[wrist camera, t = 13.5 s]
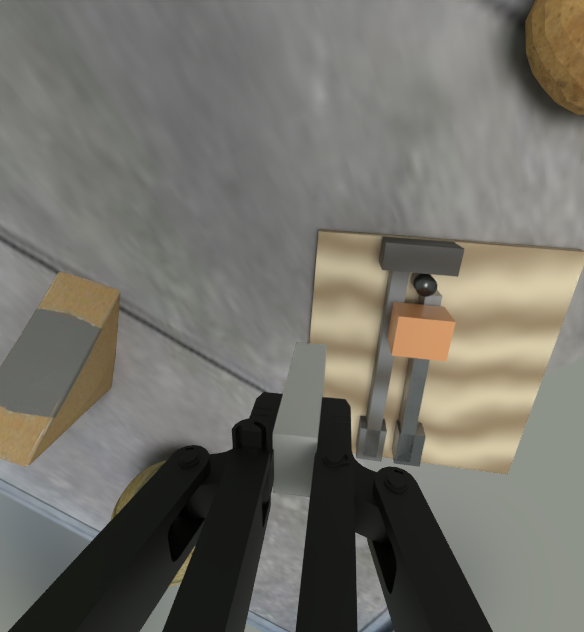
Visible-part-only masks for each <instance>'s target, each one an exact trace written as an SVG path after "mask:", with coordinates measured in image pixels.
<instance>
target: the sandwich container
mask: <svg viewBox="0 0 584 632" xmlns="http://www.w3.org/2000/svg"><path fill="white" fill-rule="evenodd" d="M119 301H120V291H119V290H117V289H114V288H111V287H108V286H105V285H103V284H100V283H97V282H94V281H91V280H88V279H84V278H81V277H77V276H74V275H70V274H66V273H63V272H59V273H58V274H57V276H56V278H55V279H54V281H53V283H52V284H51V286H50V288H49V289H48V291H47V293H46V294H45V296H44V298H43V299H42V301H41V303H40V304H39V306H38V308H37V309H36V311H35V313H34V314H33V316H32V318H31V319H30V321H29V323H28V324H27V326H26V327H25V329H24V331H23V332H22V334H21V336H20V337H19V339H18V340H17V342H16V343H15V345H14V347H13V348H12V350H11V351H10V353H9V354H8V356H7V357H6V359H5V361H4V362H3V364H2V366H1V367H0V458H1V459H3V460H6V461H9V462H12V463H15V464H18V465H21V466H24V467H26V466H28V465H30V464H31V463H32V462H33V461H34V460H35V459H36V458H38V457H39V456H40V455H41V454H42V453H43V452H44V451H45V450H46V449H47V448H48V447H49V446H50V445H51V444H52V443H53V442H54V441H55V440H56V439H58V438H59V437H60V436H61V435H62V434H63V433H64V432H65V431H66V430H67V429H68V428H69V427H70V426H71V425H72V424H73V423H74V422H75V421H76V420H78V419H79V418H80V417H81V416H82V415H83V414H84V413H85V412H86V411H87V410H88V409H89V408H90V407H91V406H92V405H93V404H94V403H95V402H96V401H97V400H99V399H100V398H101V397H102V396H103V395H104V394H105V393H106V392H107V391H108V390H109V389H110V388H111V385H112V378H113V370H114V363H115V355H116V343H117V329H118V315H119Z"/></svg>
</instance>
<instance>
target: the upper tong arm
mask: <svg viewBox="0 0 584 632" xmlns="http://www.w3.org/2000/svg"><path fill="white" fill-rule="evenodd" d="M411 283H412V285H413V286H414V288H415V290H416V291H417V293H418V294H419V295H420V297H419V303H418V304H420V305H431V306H441V301H442V295H441V294H440V292H439V291H438V290H437V282H436V280H435V279H434V278H433V277H432V276H431V274H422V273H413V274H412V276H411ZM429 362H430V360H428V359H419V358H410V357H409V361H408V367H407V372H406V378H405V384H404V390H403V396H402V402H401V407H400V413H399V419H398V420H397V421H396V427H395V433H394V438H393V444H392V455H393V460H394V463H396V464H404V465H412V466H420V462H421V457H422V452H423V447H424V443H425V438H426V435H425V432H424V429H423V425H422V423H418V418H419V413H420V408H421V403H422V398H423V393H424V387H425V382H426V377H427V372H428V367H429Z"/></svg>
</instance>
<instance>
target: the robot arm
mask: <svg viewBox="0 0 584 632" xmlns="http://www.w3.org/2000/svg"><path fill="white" fill-rule="evenodd" d="M326 350H327V345H322V344H309V343H296V347H295V350H294V354H293V358H292V362H291V366H290V369H289V373H288V377H287V381H286V384H285V388H284V392H283V394H278V393H267V392H263V393H262V394H261V395H260V396H259V397H258V398H257V399H256V401H255V404H254V407H253V409H252V412H251V415H250V417H249V419H245V420H242V421H240V422H238V423H237V424H235V425H234V427H233V428H232V441H233V449H231V450H229V451H227V452H223V453H218V454H211V455H209V453H208V452H207V450H206V449H205V448H203V447H201V446H196V445H191V446H185V447H183V448H181V449H179V450H177V451H176V452H175V453H173V454H172V455H171V457H170V458H169V459H168V460H167V461H166V462H165V463H164V464H163V465H162V466H161V467H160V468H159V469H158V471H157V472H156V473H155V474H154V475H153V476H152V477H151V478H150V479H149V480H148V481H147V482H146V483H145V485H144V486H143V487H142V488H141V489H140V490H139V491H138V492H137V493H136V494H135V495H134V496H133V497H132V499H131V500H130V501H129V502H128V503H127V504H126V505H125V506H124V507H123V508H122V509H121V510H120V511H119V513H118V514H117V515H116V516H115V517H114V518H113V519H112V520H111V521H110V522H109V523H108V524H107V525H106V527H105V528H104V529H103V530H102V531H101V532H100V533H99V534H98V535H97V536H96V537H95V538H94V539H93V541H92V542H91V543H90V544H89V545H88V546H87V547H86V548H85V549H84V550H83V551H82V553H81V554H80V555H79V556H78V557H77V558H76V559H75V560H74V561H73V562H72V563H71V564H70V565H69V566H68V567H67V569H66V570H65V571H64V572H63V573H62V574H61V575H60V576H59V577H58V578H57V579H56V580H55V581H54V583H53V584H52V585H51V586H50V587H49V588H48V589H47V590H46V591H45V593H43V594H42V596H41V597H40V598H39V599H38V600H37V601H36V602H35V603H34V604H33V605H32V606H31V607H30V608H29V610H28V611H27V612H26V613H25V614H24V615H23V616H22V617H21V618H20V619H19V620H18V621H17V622H16V623H15V625H14V626H13V627H12V628H11V629H10V630H9V631H8V632H139V631H140V630H141V628H142V627H143V625H144V624H145V622H146V621H147V619H148V617H149V616H150V614H151V613H152V611H153V610H154V608H155V607H156V605H157V603H158V602H159V600H160V599H161V598H162V596H163V594H164V593H165V591H166V590H167V588H168V587H169V585H170V584H171V582H172V581H173V579H174V578H175V576H176V575H177V573H178V571H179V570H180V568H181V567H182V565H183V564H184V562H185V561H186V559H187V558H188V556H189V555H190V553H191V551H192V550H193V548H194V547H195V548H194V551H193V553H192V556H191V558H190V561H189V564H188V566H187V569H186V571H185V574H184V577H183V579H182V582H181V585H180V587H179V590H178V592H177V595H176V598H175V600H174V603H173V605H172V608H171V611H170V613H169V616H168V619H167V621H166V624H165V626H164V629H163V631H162V632H244V629H245V625H246V620H247V615H248V611H249V606H250V601H251V596H252V592H253V587H254V582H255V578H256V573H257V568H258V563H259V559H260V554H261V549H262V544H263V540H264V535H265V530H266V526H267V521H268V516H269V511H270V507H271V491H272V487H273V493H281V494H289V495H297V496H305V497H310V502H309V512H308V521H307V530H306V539H305V549H304V558H303V567H302V577H301V586H300V595H299V605H298V614H297V623H296V632H357V591H356V547H355V532H356V533H358V534H360V535H362V536H365V537H367V541H368V545H369V548H370V551H371V555H372V558H373V561H374V565H375V568H376V571H377V574H378V578H379V581H380V584H381V588H382V591H383V594H384V597H385V601H386V604H387V607H388V611H389V614H390V617H391V621H392V624H393V627H394V630H395V632H493V631H492V629H491V627H490V625H489V623H488V621H487V619H486V617H485V616H484V613H483V612H482V610H481V608H480V606H479V604H478V602H477V600H476V598H475V596H474V594H473V592H472V590H471V588H470V586H469V584H468V582H467V580H466V578H465V576H464V574H463V572H462V570H461V568H460V566H459V565H458V563H457V560H456V558H455V556H454V555H453V553H452V551H451V549H450V547H449V545H448V543H447V541H446V539H445V537H444V535H443V533H442V531H441V529H440V527H439V525H438V523H437V521H436V519H435V517H434V515H433V513H432V511H431V509H430V507H429V505H428V503H427V502H426V500H425V498H424V496H423V494H422V492H421V490H420V488H419V486H418V484H417V482H416V480H415V479H414V478H413V477H412V475H411V474H409V473H408V472H407V471H405V470H403V469H400V468H397V467H385V468H382V469H380V470H379V471H378V472H375V471H372V470H369V469H367V468H365V467H363V466H362V465H361V464H359V463H358V462H357V461H356V460H355V458H354V456H353V454H352V440H351V407H350V405H349V404H348V402H347V400H346V399H340V398H329V397H323V396H324V382H325V366H326Z"/></svg>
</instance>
